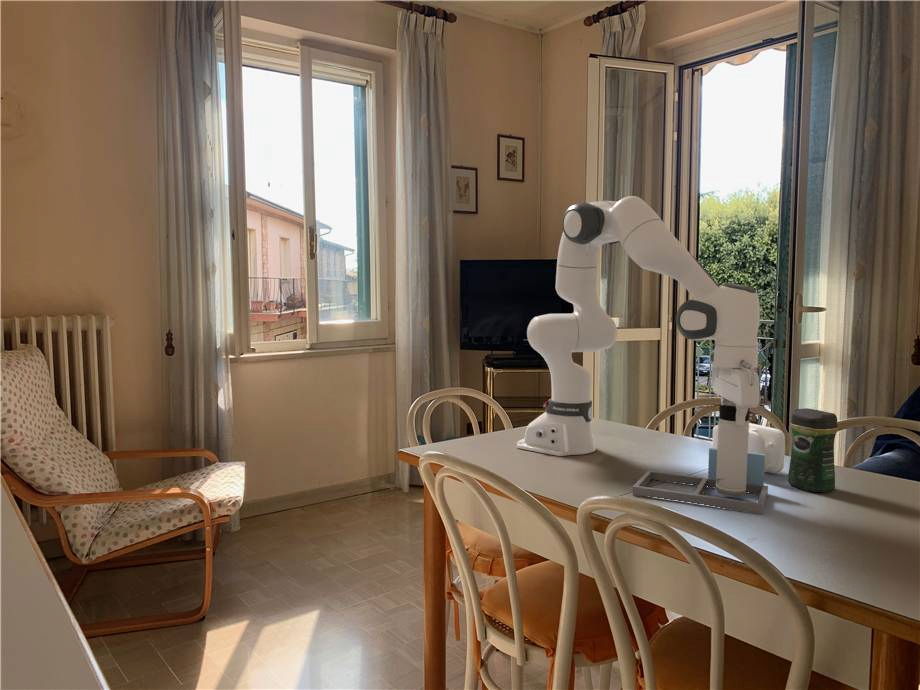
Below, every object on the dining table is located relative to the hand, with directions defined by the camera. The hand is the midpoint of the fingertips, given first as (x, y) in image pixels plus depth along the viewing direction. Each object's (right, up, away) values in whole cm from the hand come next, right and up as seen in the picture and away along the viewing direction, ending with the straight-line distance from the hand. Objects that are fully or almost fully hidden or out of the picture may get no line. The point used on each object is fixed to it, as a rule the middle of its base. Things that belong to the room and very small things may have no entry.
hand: (733, 420), depth 152 cm
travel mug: (0, -16, +2) cm, 16 cm away
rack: (-6, -17, +5) cm, 19 cm away
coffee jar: (+22, -17, +10) cm, 30 cm away
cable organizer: (+13, -16, +24) cm, 32 cm away
